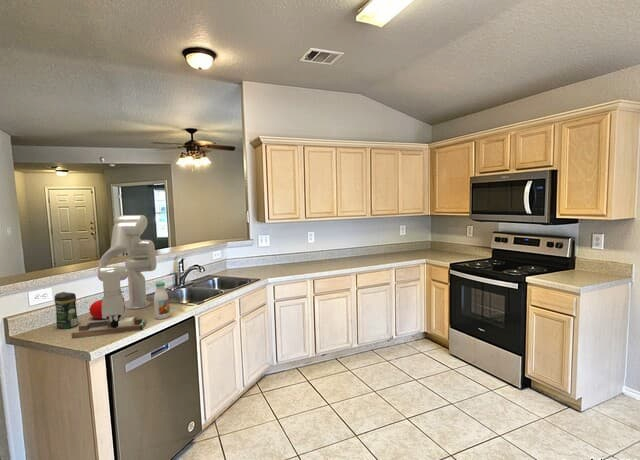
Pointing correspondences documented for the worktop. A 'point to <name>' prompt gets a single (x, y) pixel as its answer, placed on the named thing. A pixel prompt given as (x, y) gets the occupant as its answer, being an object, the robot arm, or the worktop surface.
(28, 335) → the worktop surface
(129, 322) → the block
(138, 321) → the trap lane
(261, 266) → the worktop surface
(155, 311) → the milk bottle
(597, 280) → the worktop surface
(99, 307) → the tomato
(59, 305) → the coffee jar
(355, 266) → the worktop surface
